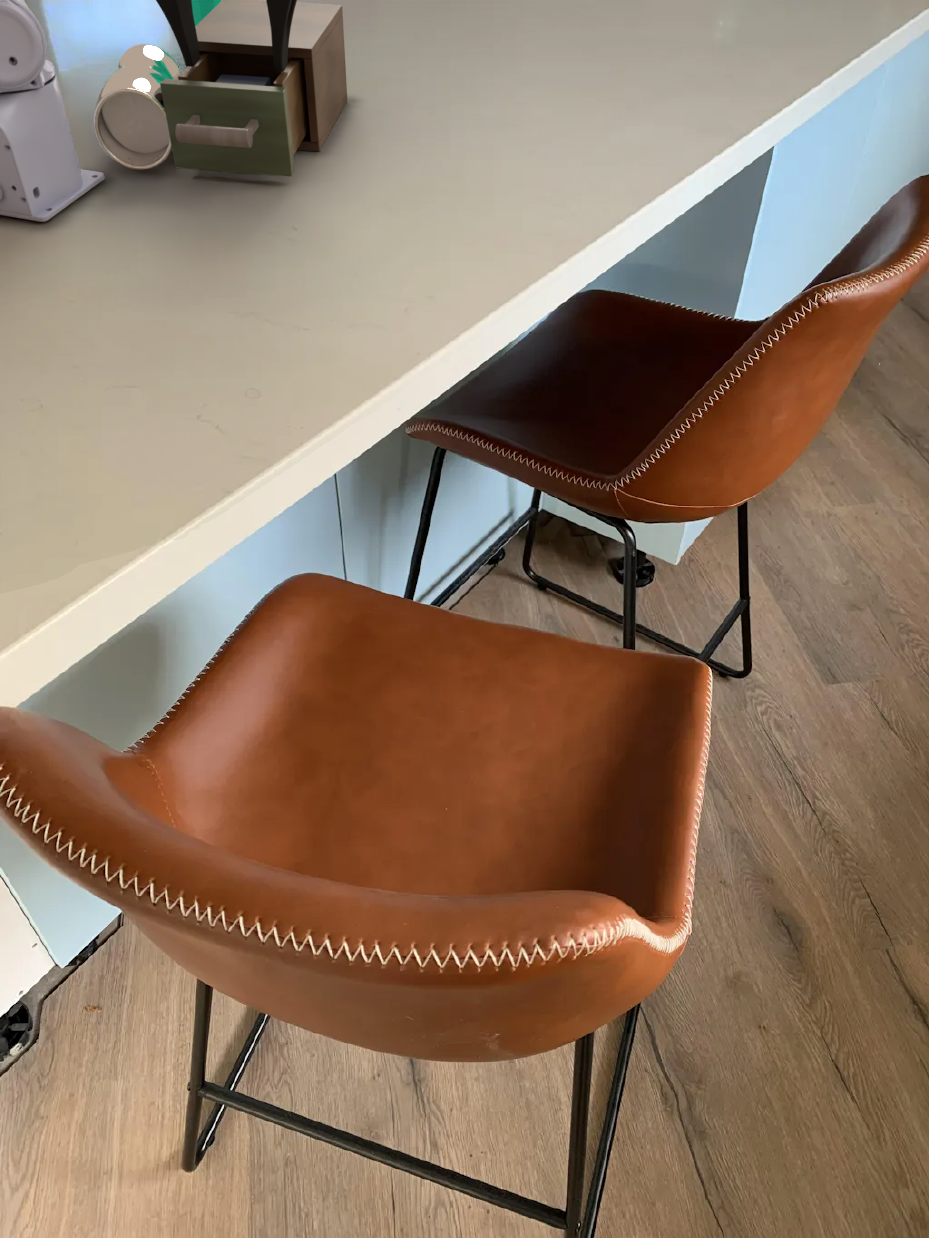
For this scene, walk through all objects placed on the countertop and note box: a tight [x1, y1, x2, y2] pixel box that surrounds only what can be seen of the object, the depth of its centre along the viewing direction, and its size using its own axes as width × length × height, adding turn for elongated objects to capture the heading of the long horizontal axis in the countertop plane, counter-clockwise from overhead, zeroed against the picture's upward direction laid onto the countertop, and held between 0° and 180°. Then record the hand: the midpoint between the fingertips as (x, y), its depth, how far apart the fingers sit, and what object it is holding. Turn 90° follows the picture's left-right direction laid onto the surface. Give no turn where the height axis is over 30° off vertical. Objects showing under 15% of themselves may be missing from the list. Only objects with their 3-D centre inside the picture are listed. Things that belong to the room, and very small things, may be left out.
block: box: [216, 75, 271, 86], centre depth 84 cm, size 4×4×4 cm
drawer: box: [160, 51, 310, 177], centre depth 84 cm, size 17×10×7 cm, turn 174°
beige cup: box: [93, 43, 182, 171], centre depth 87 cm, size 7×7×15 cm
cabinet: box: [185, 0, 348, 152], centre depth 91 cm, size 14×12×9 cm
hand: (237, 65), depth 82 cm, fingers open, 7 cm apart
